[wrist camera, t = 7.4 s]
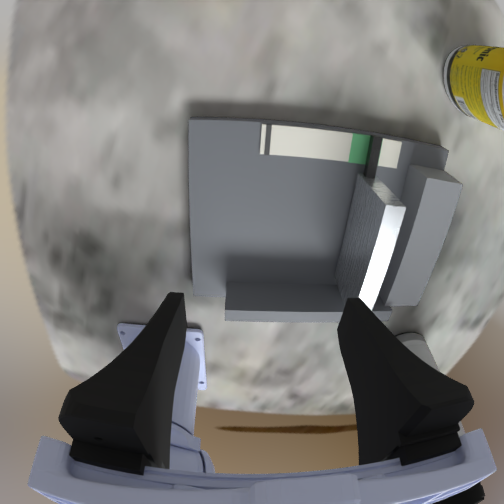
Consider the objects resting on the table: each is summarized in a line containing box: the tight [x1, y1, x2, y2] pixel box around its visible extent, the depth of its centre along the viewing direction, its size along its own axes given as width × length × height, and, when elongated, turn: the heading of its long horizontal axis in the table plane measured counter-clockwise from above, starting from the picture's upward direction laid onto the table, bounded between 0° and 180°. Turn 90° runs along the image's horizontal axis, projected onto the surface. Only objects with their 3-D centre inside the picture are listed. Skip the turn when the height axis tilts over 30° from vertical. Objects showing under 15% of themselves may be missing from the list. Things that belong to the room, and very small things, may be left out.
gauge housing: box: [189, 117, 463, 322], centre depth 20 cm, size 13×17×4 cm
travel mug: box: [396, 333, 485, 504], centre depth 23 cm, size 6×7×20 cm
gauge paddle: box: [334, 135, 406, 311], centre depth 18 cm, size 11×1×5 cm, turn 176°
